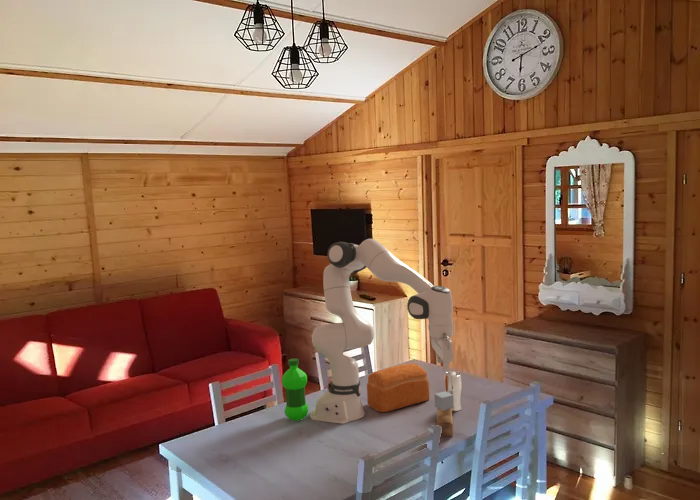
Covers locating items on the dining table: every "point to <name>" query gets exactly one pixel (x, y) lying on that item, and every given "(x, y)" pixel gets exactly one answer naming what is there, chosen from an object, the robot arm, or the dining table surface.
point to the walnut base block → (446, 428)
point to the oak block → (444, 416)
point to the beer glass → (454, 387)
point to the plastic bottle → (295, 391)
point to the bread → (397, 387)
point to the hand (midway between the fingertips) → (442, 366)
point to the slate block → (444, 401)
